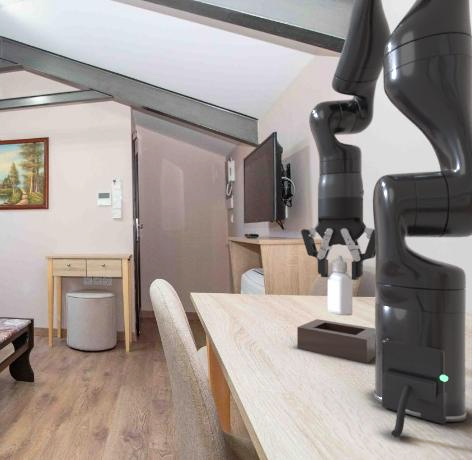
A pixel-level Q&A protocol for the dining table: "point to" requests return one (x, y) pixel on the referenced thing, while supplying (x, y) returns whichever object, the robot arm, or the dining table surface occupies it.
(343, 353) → the holder
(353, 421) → the dining table surface
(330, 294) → the eye dropper bottle
